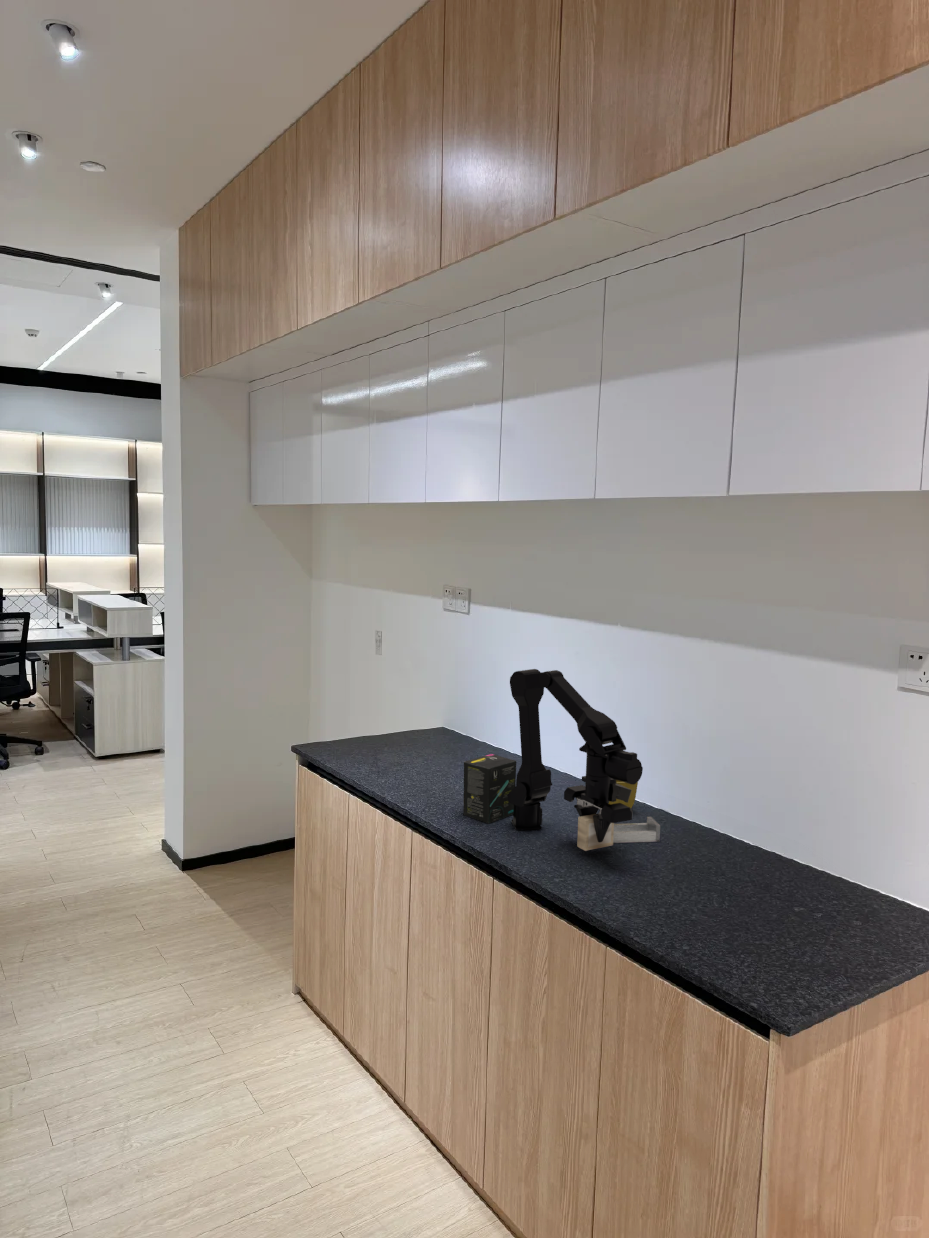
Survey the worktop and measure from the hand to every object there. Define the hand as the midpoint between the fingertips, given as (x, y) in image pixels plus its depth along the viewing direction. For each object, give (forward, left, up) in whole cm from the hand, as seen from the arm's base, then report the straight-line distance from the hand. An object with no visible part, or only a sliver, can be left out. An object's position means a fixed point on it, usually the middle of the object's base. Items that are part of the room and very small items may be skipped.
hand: (595, 839), depth 192 cm
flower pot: (+15, +29, -4) cm, 33 cm away
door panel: (0, 0, -2) cm, 2 cm away
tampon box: (-20, +28, -4) cm, 35 cm away
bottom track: (+10, +9, -3) cm, 14 cm away
